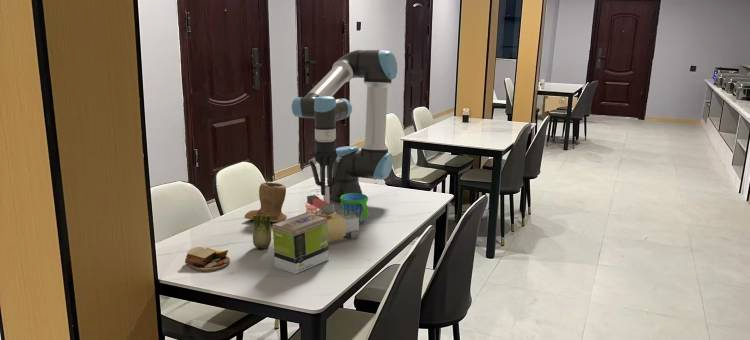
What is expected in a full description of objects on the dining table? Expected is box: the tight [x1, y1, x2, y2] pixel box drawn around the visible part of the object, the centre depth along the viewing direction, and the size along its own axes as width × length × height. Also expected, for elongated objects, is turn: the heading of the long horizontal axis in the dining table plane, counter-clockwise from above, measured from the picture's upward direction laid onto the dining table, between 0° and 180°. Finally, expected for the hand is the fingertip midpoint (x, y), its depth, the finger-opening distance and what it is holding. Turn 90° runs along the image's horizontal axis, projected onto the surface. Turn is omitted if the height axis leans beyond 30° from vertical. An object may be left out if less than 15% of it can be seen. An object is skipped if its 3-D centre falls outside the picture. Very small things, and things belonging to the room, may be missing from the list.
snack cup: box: [339, 193, 369, 225], centre depth 233 cm, size 16×10×10 cm
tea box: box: [272, 212, 330, 275], centre depth 191 cm, size 15×10×15 cm, turn 141°
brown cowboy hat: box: [243, 181, 288, 223], centre depth 234 cm, size 15×12×15 cm
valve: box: [315, 211, 360, 245], centre depth 212 cm, size 7×22×10 cm, turn 121°
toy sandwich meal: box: [184, 246, 231, 272], centre depth 192 cm, size 12×14×5 cm
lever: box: [306, 194, 335, 214], centre depth 216 cm, size 17×4×3 cm, turn 31°
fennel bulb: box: [252, 215, 272, 250], centre depth 205 cm, size 6×5×12 cm
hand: (326, 203), depth 220 cm, fingers closed
